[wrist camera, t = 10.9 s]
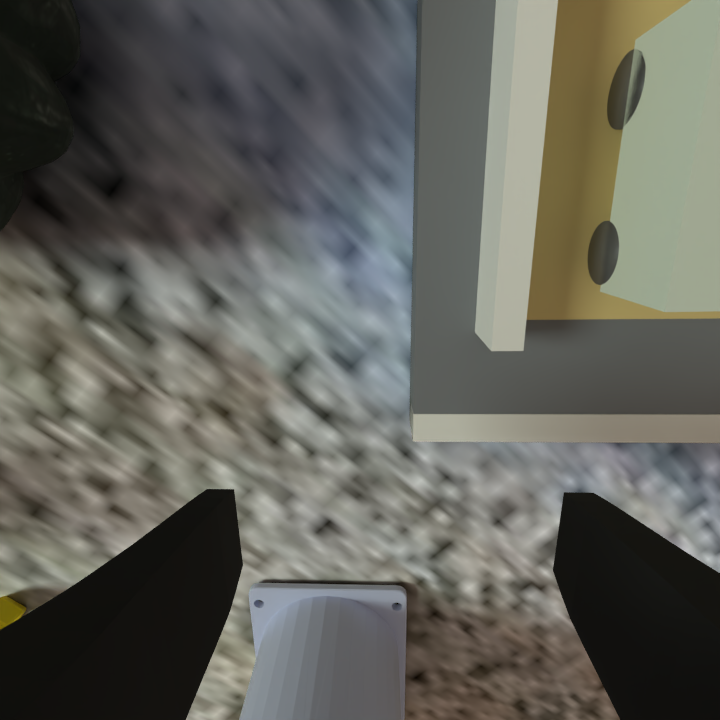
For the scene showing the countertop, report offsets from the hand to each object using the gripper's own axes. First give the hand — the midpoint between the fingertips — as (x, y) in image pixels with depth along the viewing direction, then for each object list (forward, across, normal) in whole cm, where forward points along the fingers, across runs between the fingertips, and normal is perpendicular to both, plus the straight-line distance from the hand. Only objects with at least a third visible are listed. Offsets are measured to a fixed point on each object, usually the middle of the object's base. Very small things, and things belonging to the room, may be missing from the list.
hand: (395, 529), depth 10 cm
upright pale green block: (+8, -9, -8) cm, 14 cm away
